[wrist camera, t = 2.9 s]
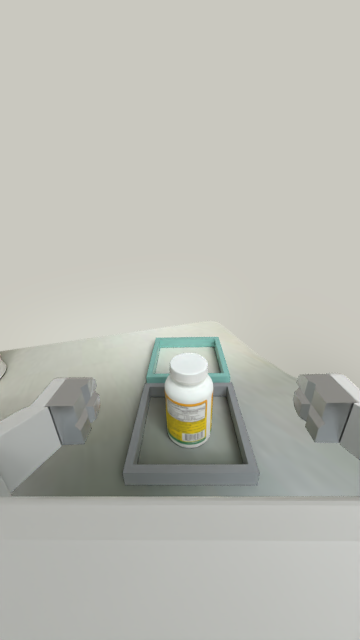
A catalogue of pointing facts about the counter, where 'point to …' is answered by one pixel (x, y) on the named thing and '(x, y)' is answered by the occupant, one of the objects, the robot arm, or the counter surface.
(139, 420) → the bin
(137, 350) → the counter surface
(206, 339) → the bin
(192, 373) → the supplement bottle
